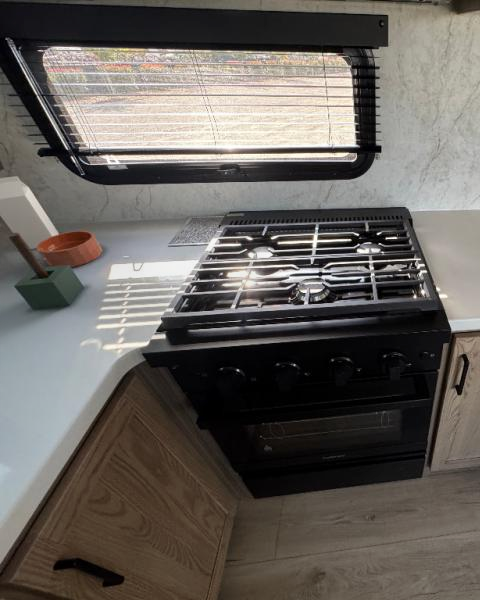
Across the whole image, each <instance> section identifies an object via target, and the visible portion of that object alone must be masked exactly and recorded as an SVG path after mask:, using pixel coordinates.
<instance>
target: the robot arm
mask: <svg viewBox="0 0 480 600" xmlns="http://www.w3.org/2000/svg"><path fill="white" fill-rule="evenodd" d="M3 170H5V167H4V165H3V162H2V160H0V172H1V171H3Z"/></svg>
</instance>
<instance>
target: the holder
mask: <svg viewBox="0 0 480 600" xmlns="http://www.w3.org/2000/svg"><path fill="white" fill-rule="evenodd" d="M43 267H44V269H45V270H46V271H47V273H48V274H49V275H50V276H49V277H48V278H44V279H39V278H38V277H37V275H36V274H35V273H34V271H33V270H32V269H30V270H29V271H28V272H27V273H26V274H25V275H24V276H23V277H22V278H20V280H18V281H17V282H16V283H15V284H14V285H13V287H14V288H15V290H16V291H17V292H18V294H20V296H21V297H22V299H23V300H24V301H25V302H26V303H27V304H28V306H29V307H30V308H31V309H32V311H34V310H35V311H36V310H45V309H54V308H62V307H63V308H64V307H70V306H71V305H72V304H73V303H74V302H75V300H76V299H77V298H78V297H79V296H80V294H81V293H82V292H83V291H84V289H85V286H84V284H83V283H82V282H81V281H80V279H79V277H78V276H77V274H76V273H75V271H74V270H73V267H70V265H63V266H52V267H49V266H43Z"/></svg>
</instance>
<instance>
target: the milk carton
mask: <svg viewBox="0 0 480 600" xmlns="http://www.w3.org/2000/svg"><path fill="white" fill-rule="evenodd" d="M0 217H1V219H2V221H3V222H4V223H5V225H6V226H7V227H8V228H9V230H10V231H11V232H12V233H19V234H20V236H21V237H22V238H23V240H24V241H25V243H26V244H27V245H28V247H29V248H30V249H31V250H34V249H36V247H37V245H38V244H39V243H40V242H41V241H43V240H45V239H47V238H49V237H52V236H55V235H58V234H60V233H59V232H58V230H57V228H56V227H55V226H54V224H53V222H52V221H51V219H50V218H49V216H48V215H47V213H46V211H45V210H44V209H43V207H42V206H41V204H40V203H39V201H38V199H37V198H36V196H35V195H34V193H33V191H32V190H31V188H30V187H29V186H28V185H27V184H26V183H24V182H23V181H22V180H21V179H20V178H19V176H18V175H16V176H8V177H1V178H0Z"/></svg>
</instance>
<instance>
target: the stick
mask: <svg viewBox="0 0 480 600" xmlns="http://www.w3.org/2000/svg"><path fill="white" fill-rule="evenodd" d="M6 237H7V239H8V240H9V241H10V242H11V243H12V245H13V247H15V249H16V250H17V251H18V253H19V254H20V255H21V257H22V258H23V259H24V261H25V262H26V263H27V264H28V266H29V268H30V270H33V271H34V273H35V274H36V275H37V277H38V278H39V279H44V278H48V277H49V276H50V275H49V274H48V273H47V271H46V270H45V269H44V267H45V266H43V265H42V263H41V262H40V261H39V259H38V258H37V255H35V253H34V252H33V250H32V249H30V248H29V247H28V245H27V244H26V243H25V241H24V240H23V238H22V237H21V236H20V234H19V233H13V232H12V233H9V234H7V235H6Z"/></svg>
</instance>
